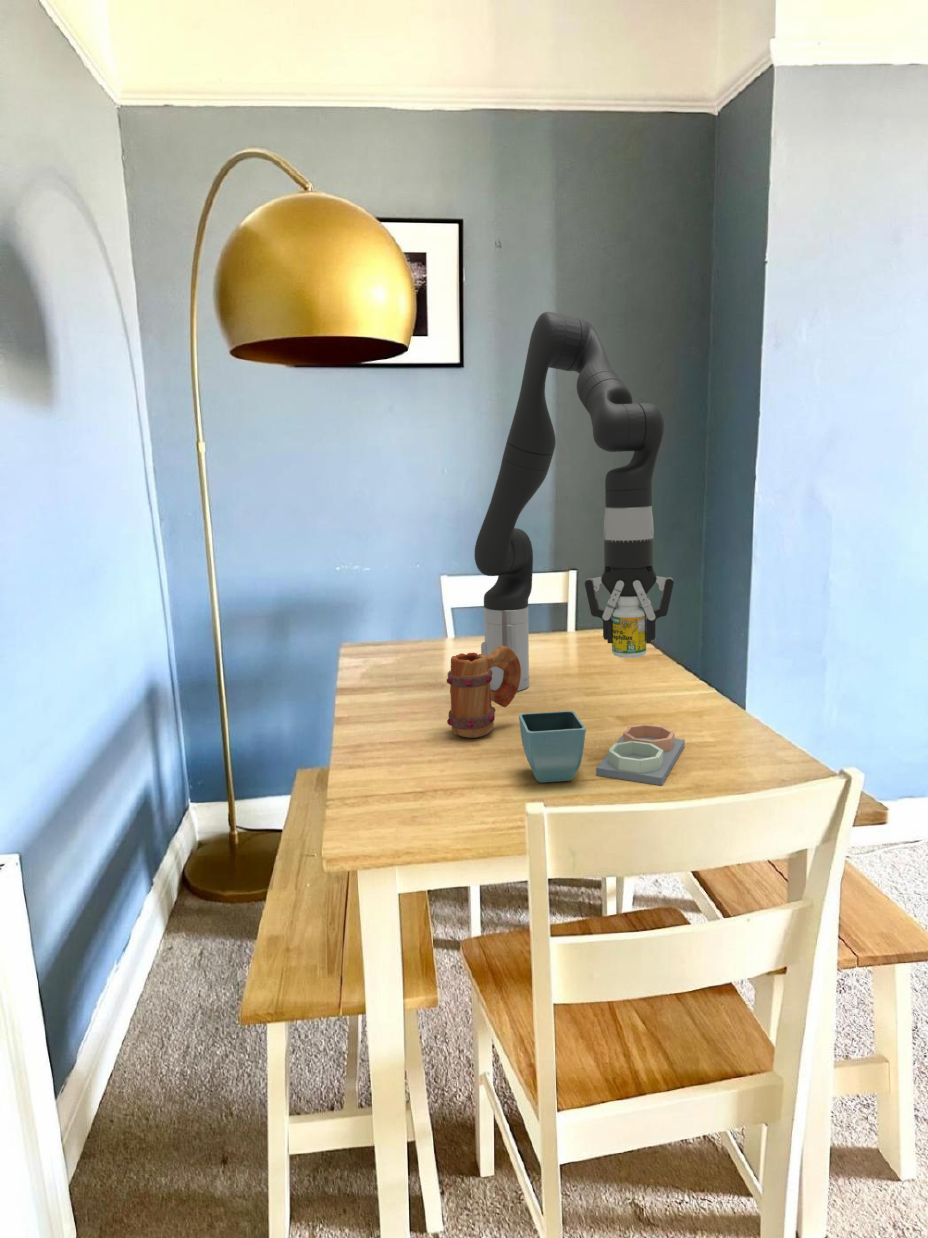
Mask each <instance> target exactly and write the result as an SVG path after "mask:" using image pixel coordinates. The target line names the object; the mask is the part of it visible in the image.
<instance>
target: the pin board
mask: <svg viewBox="0 0 928 1238" xmlns="http://www.w3.org/2000/svg"><path fill="white" fill-rule="evenodd" d="M675 735H676V734H675V732H674V731H673V730H671V729H669V728H668V727H665V726H663V725H654V724H646V723H643V724H635V725H631V726H627V727H626V729H625V730H624V731H623V733H622V736H620V738H619V739H618V740H617V742H615V743H613V744H612V746H611V747H610V748H609V749H608V752H607V754H606V755H605V757H604V758H603V759H602V760H601V761H600V763H599V764H598V765H597V767H596V768H595V770H596V771H595V772H596V773H595V775H596V776H600V777H604V778H611V779H618V780H623V781H624V780H626V781H630V782H637V783H644V784H651V785H657V786H663V785H664V783H665V781H666V780H667V778H668V776H669V774H670V773H671V770H672V769H673V768H674V766H675V764H676V762H677V760H678V759H679V757H680V755H681V753H682V751H683V750H684V748H685V744H686V743H685V742H686V741H685V739H683V738H682V739H680V738H675V737H676V736H675Z"/></svg>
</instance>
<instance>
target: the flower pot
mask: <svg viewBox="0 0 928 1238" xmlns="http://www.w3.org/2000/svg"><path fill="white" fill-rule="evenodd" d="M518 720H519V729H520V736H521V737H520V738H521V742H522V748H523V752H524V754H525V758H526V760H527V762H528V765H529V766H530V769H531V771H532V774H533V776H534V777H535V779H536V781H537V782H538V783H540V784H541V783H554V782H569V781H572V780H573V778H574V777H575V776H576V774H577V772H578V771H579V769H580V766H581V763H582V761H583V756H584V755H583V754H584V748H585V741H586V730H587V728H586V726H585V724H584V723H583V722H582V721H581V719H580V718H579V717H578V715H577V714H576V712H575V711H573V710H562V711H560V710H559V711H543V712H530V713H529V712H526V713H519V714H518Z"/></svg>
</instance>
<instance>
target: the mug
mask: <svg viewBox="0 0 928 1238" xmlns="http://www.w3.org/2000/svg"><path fill="white" fill-rule="evenodd" d="M495 666H496V667H498V668H500V669H502V670H503V671H504V674H503V681H502V683H501V685H500V687H499V688H498V689H497V690H495V691H494V690H491V689H490V682H491V681H492V671H491V667H495ZM520 678H521V666H520V662H519V659H518V657H517V656H516V654H515V653H514V652H513V650H512V649H510V648H508V647H506V646H502V645H501V646H498V647H496V649H495V650H494V651H493V652H492V653H491V654H489V655H484V654H481V653H479V654H478V652H467V653H459V654H455V655H452V656H451V658H450V670H449V671H448V672H447V678H446V684H448V685H450V687H449V693H450V710H449V711H448V719H447V721H446V723H447V725H448V726H451V732H452V733H453V734H455V735H457V736H460V737H462V738H467V739H470V738H471V739H473V738H474V739H477V738H481V737H484V736H486V735H488V734H489V733H490V732H491V731H492V730H493V728H494V725H495V723H494V721H495V718H496V707H494V706H493V705H492V702H493V703H496V704H497V705H499V706H501V707H502V708H507V707H508V706H509V705H510V704H511V703H512V701H513V700H514V698H515V696H516V694H517V693H518V691H517V690H518V687H519V683H520Z"/></svg>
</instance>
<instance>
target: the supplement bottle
mask: <svg viewBox="0 0 928 1238" xmlns="http://www.w3.org/2000/svg"><path fill="white" fill-rule="evenodd" d="M616 605H617V606H615V607H614V610H613V612H612V614H611V619H612V643H611V653H612V654H613V656H615V657H618V658H624V659H626V658H627V659H628V658H629V659H630V658H631V659H632V658H634V659H635V658H642V657H643V656H645V655H646V654H647V643H646V618H647V615H646V613H645V611H644V608H643V606H641V605H642V604H641V602H640V600H639V597H638V596H619V598H618V600H617V603H616Z"/></svg>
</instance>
